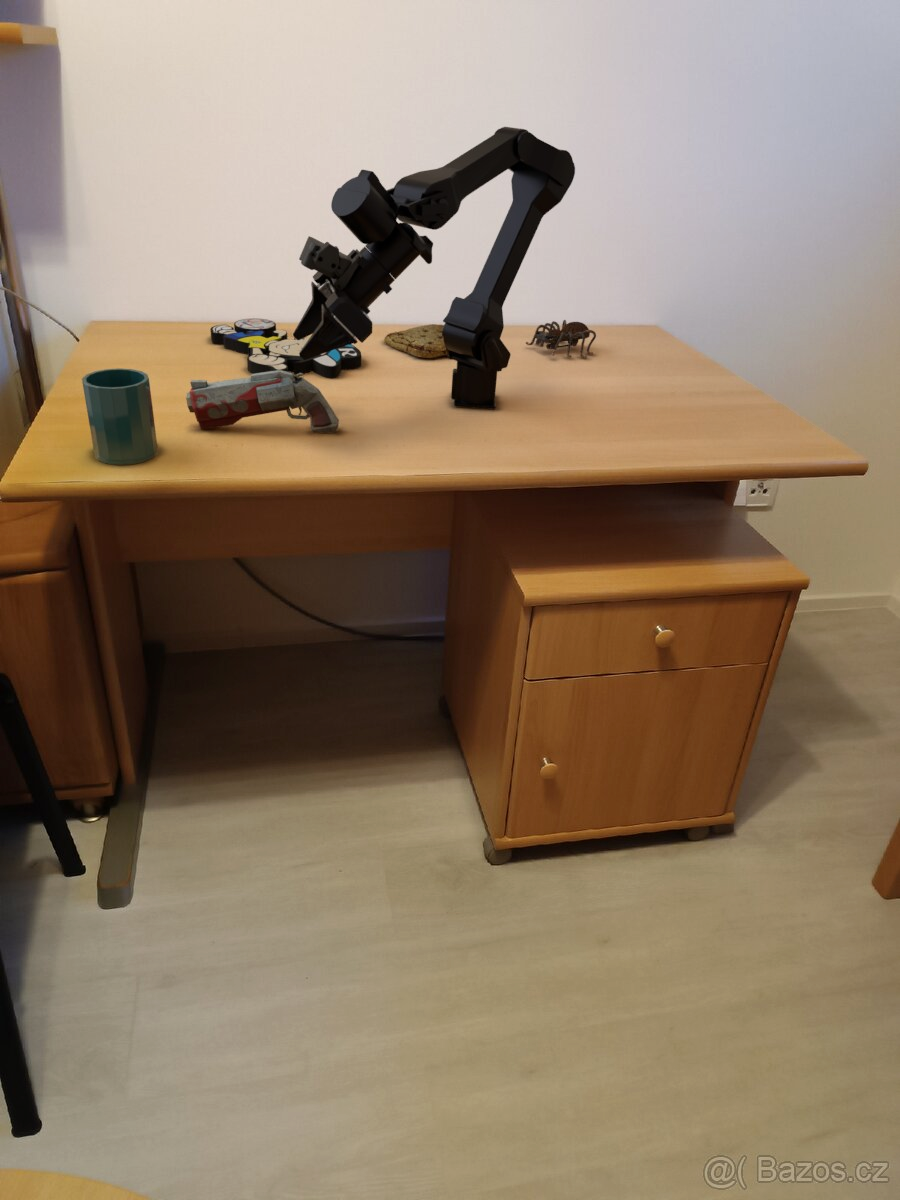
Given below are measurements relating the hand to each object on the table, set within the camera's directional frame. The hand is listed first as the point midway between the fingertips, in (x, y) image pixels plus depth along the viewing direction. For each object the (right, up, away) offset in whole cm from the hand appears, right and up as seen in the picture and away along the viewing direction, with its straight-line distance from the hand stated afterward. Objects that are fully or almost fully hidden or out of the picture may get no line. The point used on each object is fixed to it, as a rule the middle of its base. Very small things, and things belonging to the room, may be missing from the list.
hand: (298, 347), depth 120 cm
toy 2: (+42, +13, +48) cm, 65 cm away
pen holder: (-22, -15, -5) cm, 27 cm away
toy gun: (-6, -10, +5) cm, 13 cm away
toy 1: (-9, +9, +35) cm, 37 cm away
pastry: (+17, +13, +45) cm, 49 cm away
